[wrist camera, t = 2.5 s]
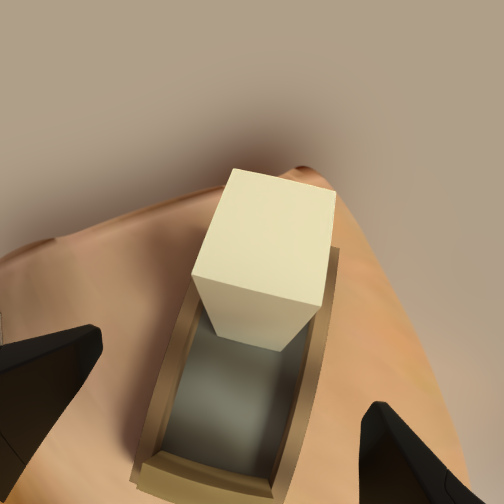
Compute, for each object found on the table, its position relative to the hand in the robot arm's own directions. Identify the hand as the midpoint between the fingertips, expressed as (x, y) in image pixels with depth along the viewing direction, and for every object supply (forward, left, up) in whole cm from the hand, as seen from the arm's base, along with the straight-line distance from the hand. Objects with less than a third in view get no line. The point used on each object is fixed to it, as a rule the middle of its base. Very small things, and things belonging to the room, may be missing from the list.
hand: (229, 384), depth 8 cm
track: (+1, +1, -12) cm, 12 cm away
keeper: (+3, +5, -11) cm, 12 cm away
